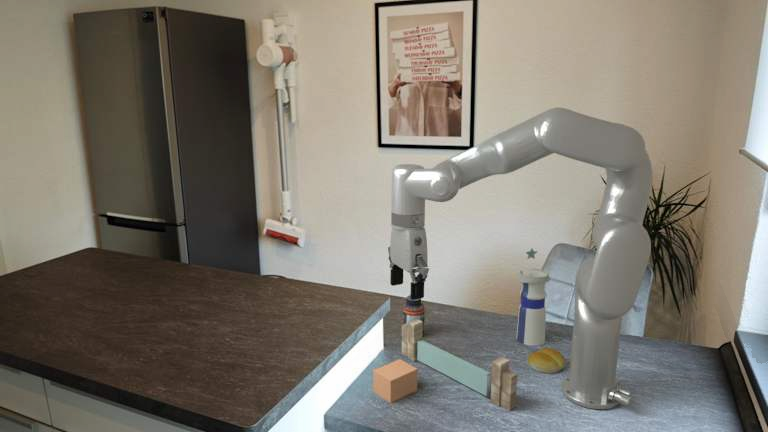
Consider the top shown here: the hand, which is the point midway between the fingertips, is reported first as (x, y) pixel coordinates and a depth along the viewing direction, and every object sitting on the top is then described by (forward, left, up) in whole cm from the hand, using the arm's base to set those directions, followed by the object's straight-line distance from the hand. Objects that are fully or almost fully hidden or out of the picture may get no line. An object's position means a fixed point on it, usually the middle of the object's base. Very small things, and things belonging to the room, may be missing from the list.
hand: (406, 291), depth 124 cm
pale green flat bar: (-9, -7, -21) cm, 24 cm away
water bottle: (-9, -38, -22) cm, 45 cm away
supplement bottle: (+14, -16, -22) cm, 31 cm away
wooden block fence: (-9, -7, -21) cm, 24 cm away
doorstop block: (-4, +7, -22) cm, 23 cm away
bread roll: (-20, -29, -22) cm, 41 cm away
